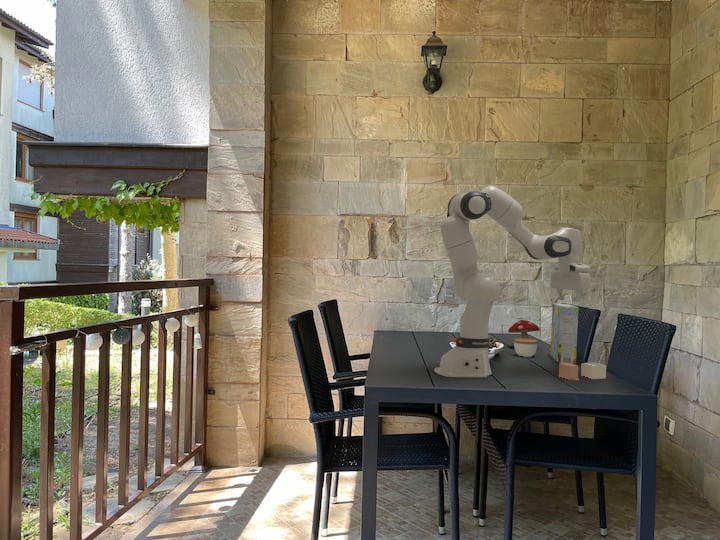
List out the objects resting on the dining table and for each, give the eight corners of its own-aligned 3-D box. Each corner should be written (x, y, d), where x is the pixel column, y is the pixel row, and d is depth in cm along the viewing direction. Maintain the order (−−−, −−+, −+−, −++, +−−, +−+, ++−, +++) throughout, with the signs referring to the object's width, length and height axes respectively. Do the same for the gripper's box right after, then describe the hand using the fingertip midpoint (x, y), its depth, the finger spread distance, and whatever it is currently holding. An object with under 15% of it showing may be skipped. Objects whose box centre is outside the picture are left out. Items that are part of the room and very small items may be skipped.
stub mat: (569, 380, 195) (569, 379, 195) (557, 376, 202) (557, 375, 202) (579, 380, 196) (579, 379, 196) (567, 376, 203) (567, 375, 203)
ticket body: (591, 379, 199) (592, 365, 198) (581, 375, 204) (581, 362, 204) (605, 378, 200) (606, 365, 200) (594, 375, 206) (595, 362, 206)
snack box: (578, 365, 227) (579, 306, 227) (557, 364, 229) (558, 306, 228) (568, 356, 248) (570, 303, 248) (549, 355, 250) (550, 302, 250)
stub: (569, 379, 196) (569, 366, 196) (559, 375, 201) (559, 363, 201) (578, 378, 197) (578, 365, 197) (567, 375, 203) (568, 362, 202)
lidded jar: (539, 356, 248) (540, 336, 248) (534, 359, 239) (534, 339, 239) (517, 353, 254) (517, 334, 254) (510, 356, 245) (511, 336, 245)
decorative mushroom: (505, 349, 266) (506, 320, 266) (509, 345, 281) (510, 317, 281) (538, 352, 260) (539, 322, 260) (540, 347, 275) (541, 319, 274)
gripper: (547, 266, 220) (546, 299, 221) (580, 267, 201) (579, 302, 201) (559, 267, 222) (558, 299, 222) (593, 267, 203) (592, 302, 203)
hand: (568, 300), depth 211 cm, fingers open, 8 cm apart
